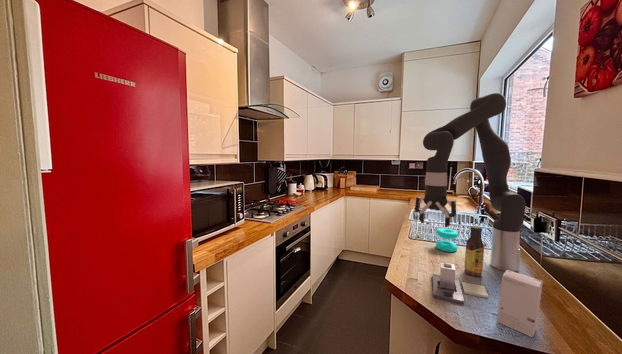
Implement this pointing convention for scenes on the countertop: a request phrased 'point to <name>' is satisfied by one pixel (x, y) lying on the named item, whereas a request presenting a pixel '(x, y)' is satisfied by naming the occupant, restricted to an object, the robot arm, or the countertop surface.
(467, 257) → the sauce bottle
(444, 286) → the square post
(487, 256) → the countertop surface
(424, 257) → the countertop surface
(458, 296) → the rectangular plate with hole
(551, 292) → the countertop surface
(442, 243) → the donuts
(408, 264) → the countertop surface
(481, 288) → the pad
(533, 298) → the skincare box
